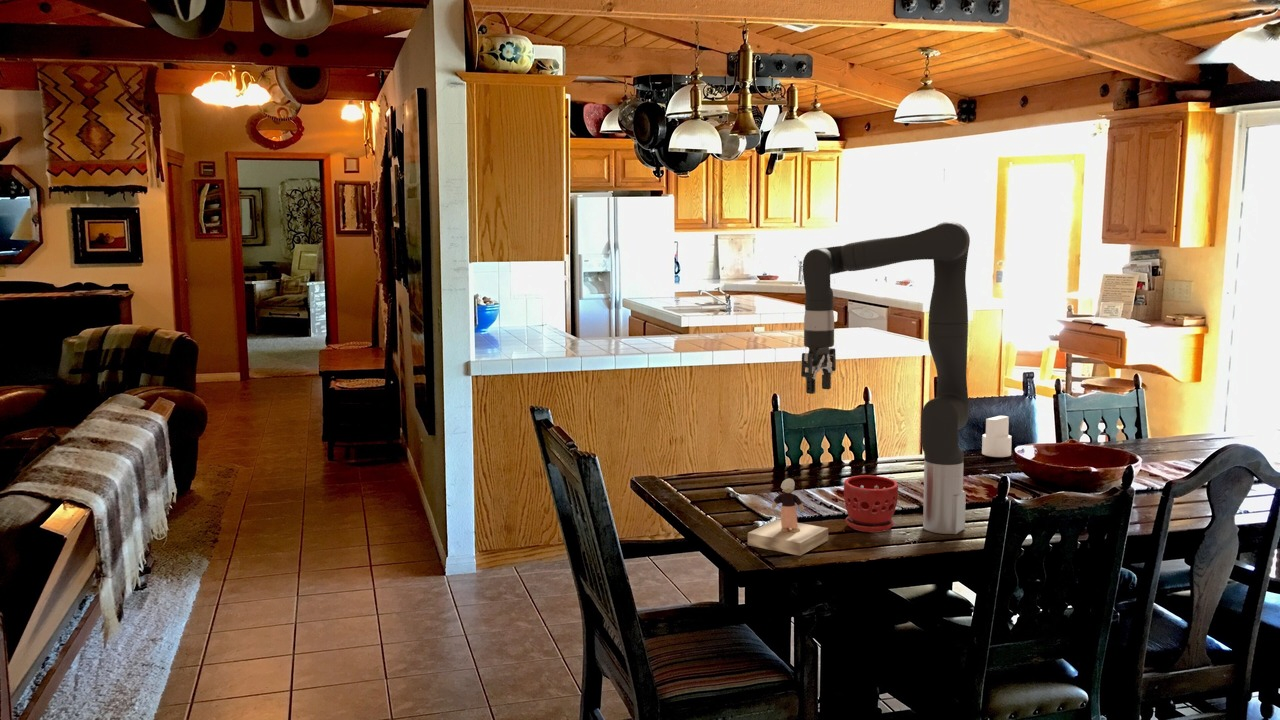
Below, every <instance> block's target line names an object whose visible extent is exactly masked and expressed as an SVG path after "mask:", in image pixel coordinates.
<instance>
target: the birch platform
mask: <svg viewBox="0 0 1280 720" xmlns="http://www.w3.org/2000/svg"><path fill="white" fill-rule="evenodd" d="M797 527H798V528H799V529H800V531H799V532H796V533H792V532H790V531H791V529H792V528H789V529H790V530H789V531H788V532H782V531H781V529H782V526H781V518H780V519H778V518H776V519H774V520H772V521H770V522H768V523H766V524H764V525H761V526H758V528H755V529H753V530H751V531H749V532H747V546H748V547H749V546H751V547H755V548H760V549H765V550H770V551H773V552H774V551H776V552H779V553H786V554H789V555H794V556H800V557H801V556H803V555H804V554H807V553H808V552H810V551H811V550H814V549H815V548H817V547H818V546H821V545H823V544H825V543H826V542H828V541H829V527H823V526H818V525H813V524H807V523H802V522H797Z"/></svg>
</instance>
